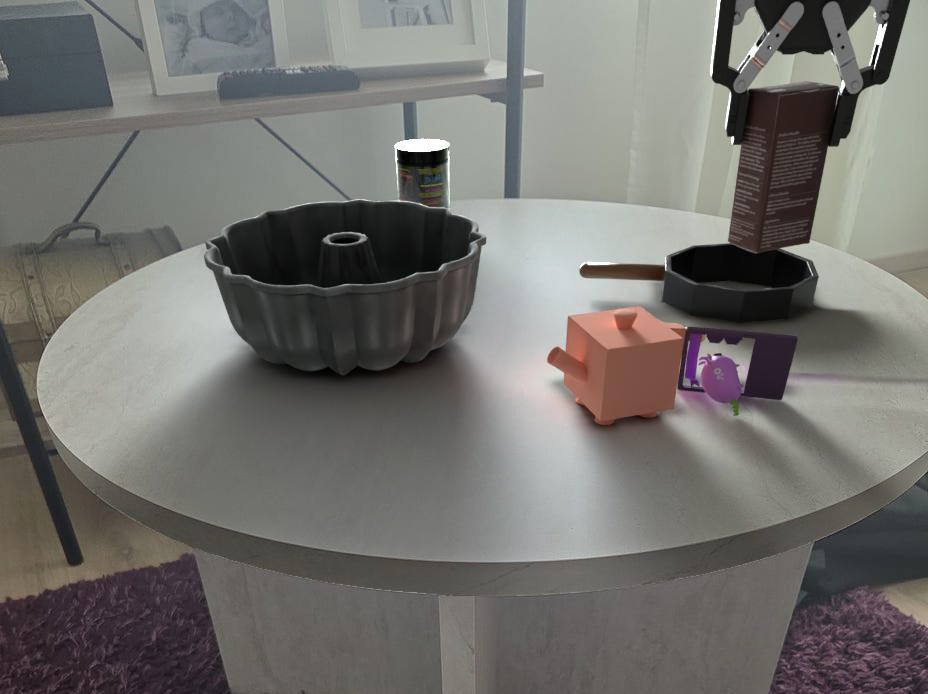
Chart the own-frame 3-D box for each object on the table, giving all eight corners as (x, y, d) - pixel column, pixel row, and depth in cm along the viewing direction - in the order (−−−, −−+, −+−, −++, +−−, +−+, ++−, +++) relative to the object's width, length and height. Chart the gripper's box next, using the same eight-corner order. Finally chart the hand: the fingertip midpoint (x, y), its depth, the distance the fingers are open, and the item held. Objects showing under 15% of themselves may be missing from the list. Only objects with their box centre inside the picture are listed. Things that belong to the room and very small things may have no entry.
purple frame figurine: (799, 329, 74) (686, 320, 76) (794, 373, 72) (678, 363, 74) (783, 391, 80) (678, 381, 82) (778, 434, 77) (670, 422, 80)
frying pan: (798, 282, 102) (806, 244, 100) (816, 335, 90) (826, 294, 88) (581, 274, 106) (584, 238, 103) (572, 324, 94) (574, 285, 91)
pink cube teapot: (528, 399, 81) (532, 306, 75) (651, 380, 83) (663, 288, 78) (563, 438, 75) (569, 340, 70) (694, 416, 77) (709, 320, 72)
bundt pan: (412, 418, 78) (406, 301, 72) (166, 370, 87) (141, 262, 81) (523, 314, 97) (526, 213, 90) (310, 283, 105) (300, 190, 99)
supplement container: (461, 232, 120) (460, 144, 113) (424, 244, 116) (421, 153, 109) (425, 223, 123) (422, 136, 117) (388, 234, 120) (383, 145, 113)
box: (776, 232, 83) (806, 78, 75) (810, 245, 80) (845, 86, 72) (721, 242, 81) (746, 85, 73) (754, 256, 78) (783, 93, 70)
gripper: (733, -112, 63) (696, 153, 74) (953, -118, 61) (883, 156, 71) (726, -113, 69) (693, 133, 79) (928, -118, 67) (867, 135, 77)
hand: (784, 143), depth 75 cm, fingers closed on box, 7 cm apart
